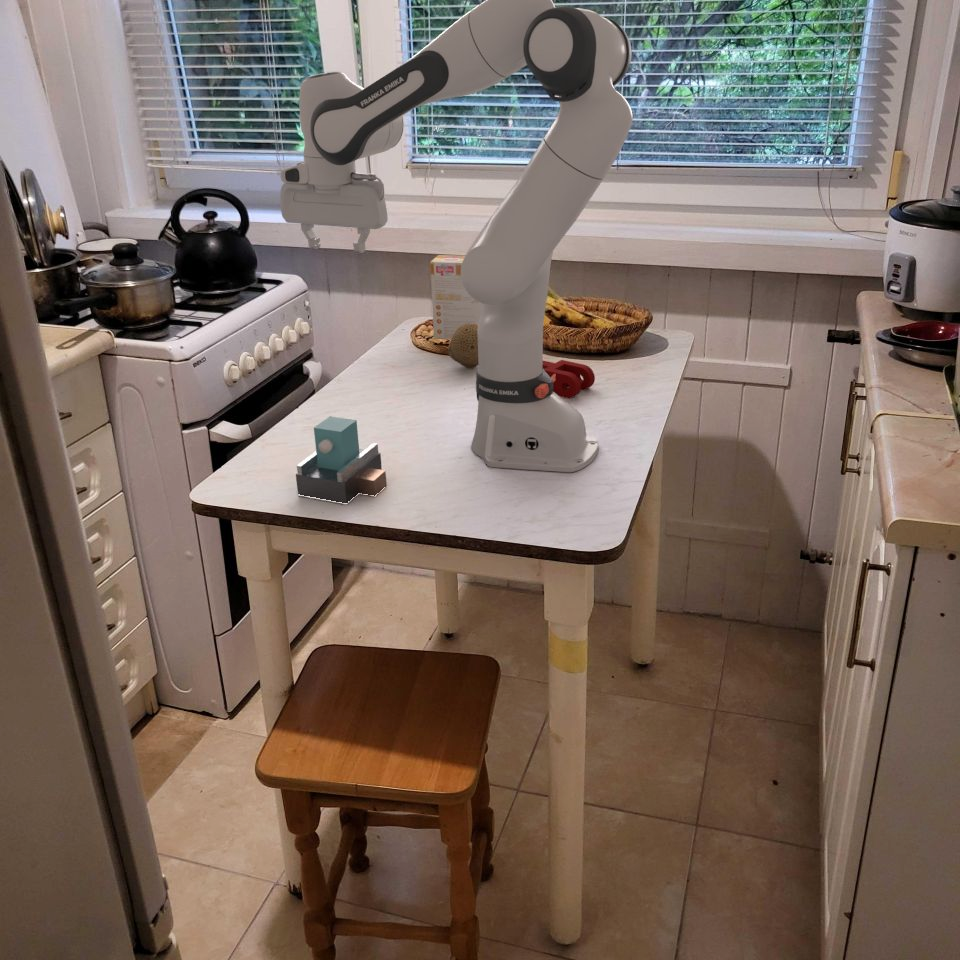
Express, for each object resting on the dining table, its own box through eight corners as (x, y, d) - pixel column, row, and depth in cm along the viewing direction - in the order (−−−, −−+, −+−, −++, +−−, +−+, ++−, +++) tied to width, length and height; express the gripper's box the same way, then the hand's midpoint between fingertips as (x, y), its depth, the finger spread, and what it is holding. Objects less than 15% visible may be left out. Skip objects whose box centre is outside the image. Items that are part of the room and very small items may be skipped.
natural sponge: (496, 373, 208) (495, 328, 203) (455, 377, 206) (453, 332, 202) (486, 360, 216) (484, 316, 211) (446, 364, 214) (444, 320, 209)
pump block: (359, 459, 161) (356, 420, 158) (340, 475, 156) (336, 435, 153) (333, 454, 163) (329, 416, 160) (313, 470, 157) (308, 431, 154)
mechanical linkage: (594, 390, 198) (595, 366, 196) (575, 401, 193) (576, 377, 191) (529, 375, 207) (529, 352, 205) (510, 385, 202) (509, 362, 200)
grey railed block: (397, 476, 164) (395, 446, 161) (363, 508, 154) (360, 476, 152) (335, 466, 168) (332, 436, 166) (298, 496, 158) (294, 465, 156)
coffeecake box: (502, 338, 229) (501, 255, 220) (496, 348, 223) (494, 263, 214) (441, 335, 232) (438, 253, 224) (433, 344, 226) (429, 261, 218)
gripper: (391, 171, 170) (395, 250, 177) (291, 166, 178) (299, 242, 184) (374, 177, 165) (379, 258, 171) (272, 171, 172) (280, 249, 179)
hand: (337, 250), depth 178 cm, fingers open, 8 cm apart
